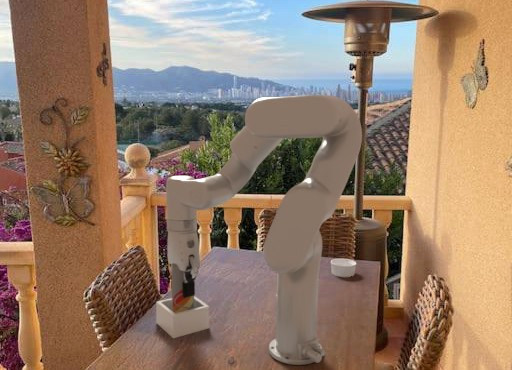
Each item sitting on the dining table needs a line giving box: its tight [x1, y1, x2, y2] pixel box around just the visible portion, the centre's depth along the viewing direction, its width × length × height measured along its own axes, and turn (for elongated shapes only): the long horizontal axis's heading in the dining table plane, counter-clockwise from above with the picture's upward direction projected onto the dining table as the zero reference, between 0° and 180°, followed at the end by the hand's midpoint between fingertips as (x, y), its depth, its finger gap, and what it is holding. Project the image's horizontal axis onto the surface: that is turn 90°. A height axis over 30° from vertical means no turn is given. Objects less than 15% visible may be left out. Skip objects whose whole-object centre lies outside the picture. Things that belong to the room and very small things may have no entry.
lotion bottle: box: [171, 263, 195, 313], centre depth 124 cm, size 6×6×20 cm
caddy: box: [155, 295, 210, 339], centre depth 125 cm, size 10×10×6 cm
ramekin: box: [330, 258, 357, 278], centre depth 167 cm, size 9×9×4 cm
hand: (182, 291), depth 124 cm, fingers open, 5 cm apart
